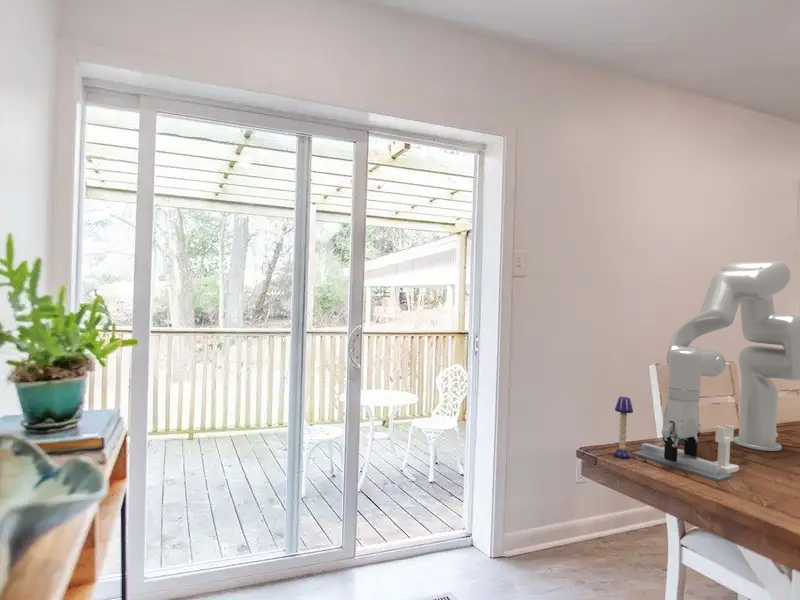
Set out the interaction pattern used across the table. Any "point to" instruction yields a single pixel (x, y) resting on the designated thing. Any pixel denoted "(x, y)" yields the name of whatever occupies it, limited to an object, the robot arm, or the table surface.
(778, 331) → the robot arm
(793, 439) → the table surface
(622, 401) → the toy lamp
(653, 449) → the rail
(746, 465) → the table surface
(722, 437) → the rack
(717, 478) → the mat
